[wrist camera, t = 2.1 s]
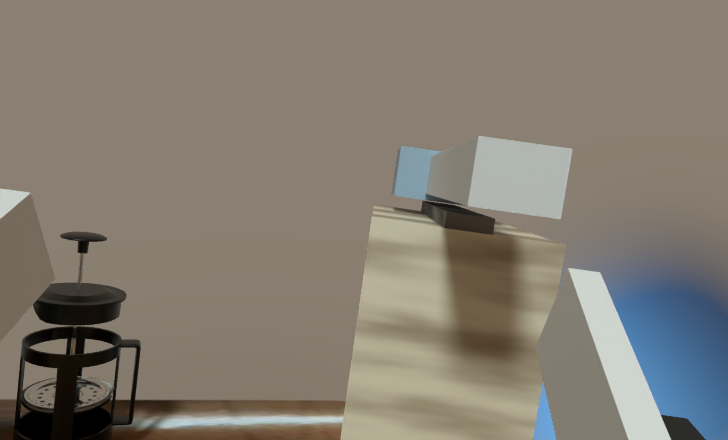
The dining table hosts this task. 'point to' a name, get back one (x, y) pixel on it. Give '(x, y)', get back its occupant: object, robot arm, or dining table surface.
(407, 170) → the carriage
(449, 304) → the patterned tall box
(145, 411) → the dining table surface
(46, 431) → the french press
